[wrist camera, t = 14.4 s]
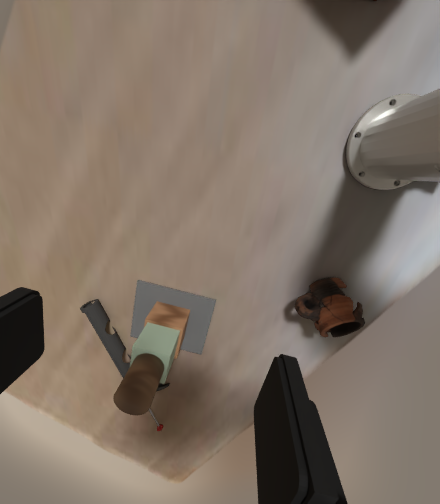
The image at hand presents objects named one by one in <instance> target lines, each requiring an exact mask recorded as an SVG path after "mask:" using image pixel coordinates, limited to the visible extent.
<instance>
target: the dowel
mask: <svg viewBox="0 0 440 504" xmlns="http://www.w3.org/2000/svg"><path fill="white" fill-rule="evenodd" d="M163 372H164V364H163V362H162V360H161V359H160V358H159V357H157V356H155V355H153V354H149V353H143V354H140V355H138V356H137V357H136V358H135V359H134V361H133V363H132V364H131V366H130V368H129V370H128V371H127V373H126V375H125V377H124V378H123V380H122V382H121V384H120V385H119V387H118V389H117V391H116V392H115V394H114V403H115V404H116V406H117V407H118V408H119V409H120V410H121V411H123V412H125V413H127V414H130V415H142V414H144V413H146V412H147V411H148V410H149V408H150V406H151V403H152V400H153V398H154V395H155V393H156V390H157V388H158V385H159V382H160V380H161V377H162V375H163Z"/></svg>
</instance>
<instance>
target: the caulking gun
mask: <svg viewBox="0 0 440 504" xmlns="http://www.w3.org/2000/svg"><path fill="white" fill-rule="evenodd" d="M93 301H95V302H94V303H93V304H92V303H91V302H92V301H89V302H87V303H86V304H84V305H83V306H82V307H81V308H80V310H81V311H82V313H85V314H86V316H87V317H88V319H89V321H90V322H91V324H92V326H93V328H94V329H95V331H96V333H97V334H98V336H99V338H100V339H101V341H102V343H103V345H104V346H105V348H106V350H107V351H108V353H109V355H110V356H111V358H112V360H113V362H114V363H115V365H116V367H117V368H118V370H119V372H120V374H121V375H122V377H123V378H124V377H125V375H126V373H127V371H128V369H129V368H130V363H124V362H123V360H122V355H123V352H124V349H125V347H124V345H123V343H122V342H121V340H120V338H119V336H118V334H117V333H116V331H115V329H114V328H113V329H114V331H115V334H113V335H110V334H107V333H106V331H105V327H106V324H107V322H108V320H109V318H108V317H107V315H106V313H105V311H104V309H103V308H102V306H101V304H100V302H99V300H98V299H96V300H93ZM109 322H110V320H109ZM125 350H126V349H125ZM128 356H129V355H128ZM129 357H130V356H129ZM130 359H131V358H130ZM130 362H131V361H130ZM169 384H170V383H169ZM169 384H166V385H163V384H162V383H160V384H159V385H158V388H157V390H156V391H159V390H162V389H164V388H166V387H168V386H169ZM149 411H150V413H151V415H152V417H153V418H154V420H155V422H156V424H157V425H158V426H157V431H161V430H162V428H163V425H162V424H159V423H158V421H157V420H156V418H155V416H154V414H153V413H152V411H151V409H150V408H149Z"/></svg>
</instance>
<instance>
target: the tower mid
mask: <svg viewBox="0 0 440 504" xmlns="http://www.w3.org/2000/svg"><path fill="white" fill-rule="evenodd" d="M179 334H180V330H176V329H172V328H168V327H164V326H160V325H156V324H153V323H149V322H148V323H147V324H146V326H145V327H144V329H143V331H142V332H141V334H140V335H139V337H138V339H137V340H136V342H135V343H134V345H133V347H132V354H131V362H130V366H131V364H132V363H133V361H134V359H135V358H136V357H137V356H138V355H140V354H143V353H149V354H153V355H155V356H157V357H159V358H160V359H161V360H162V362H163V364H164V372H163V375H162V377H161V380H160V382H159V383H162V384H165V381H166V379H167V376H168V373H169V370H170V368H171V365H172V362H173V359H174V357H175V352H176V348H177V343H178V339H179Z"/></svg>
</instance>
